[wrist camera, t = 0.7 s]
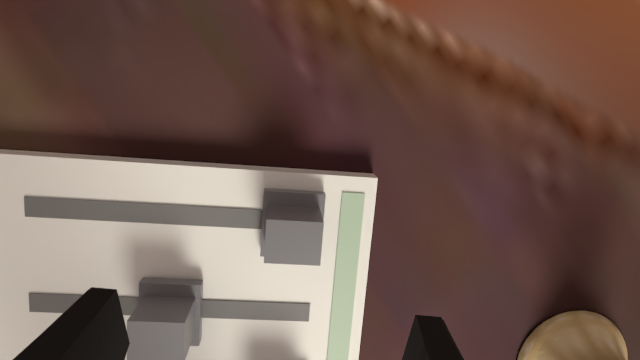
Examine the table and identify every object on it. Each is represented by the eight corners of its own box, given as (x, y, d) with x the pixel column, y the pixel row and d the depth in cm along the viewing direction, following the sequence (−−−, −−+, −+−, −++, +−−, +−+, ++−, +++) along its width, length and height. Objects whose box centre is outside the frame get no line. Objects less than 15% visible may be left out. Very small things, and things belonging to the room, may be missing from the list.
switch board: (347, 419, 33) (350, 436, 31) (-39, 413, 30) (-57, 431, 29) (373, 173, 29) (378, 178, 28) (-62, 145, 27) (-83, 148, 25)
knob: (319, 254, 28) (324, 279, 24) (260, 251, 28) (257, 277, 24) (324, 191, 27) (330, 208, 24) (264, 187, 27) (261, 203, 23)
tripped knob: (201, 339, 29) (189, 376, 25) (142, 337, 28) (121, 375, 25) (203, 279, 28) (190, 309, 24) (142, 277, 28) (120, 306, 24)
